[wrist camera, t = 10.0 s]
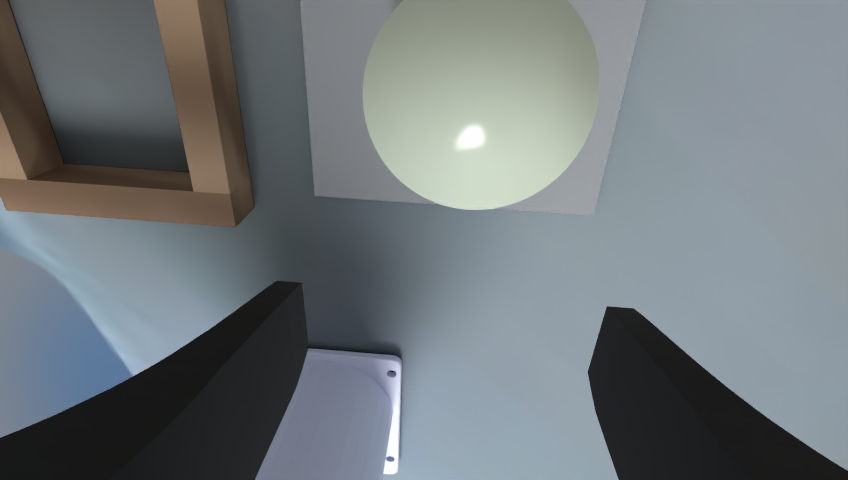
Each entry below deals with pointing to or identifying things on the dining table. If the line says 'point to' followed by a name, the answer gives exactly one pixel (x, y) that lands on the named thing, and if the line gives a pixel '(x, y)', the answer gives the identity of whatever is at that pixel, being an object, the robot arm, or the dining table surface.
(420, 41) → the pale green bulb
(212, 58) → the frame
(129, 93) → the dining table surface
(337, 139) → the mat
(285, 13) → the dining table surface
